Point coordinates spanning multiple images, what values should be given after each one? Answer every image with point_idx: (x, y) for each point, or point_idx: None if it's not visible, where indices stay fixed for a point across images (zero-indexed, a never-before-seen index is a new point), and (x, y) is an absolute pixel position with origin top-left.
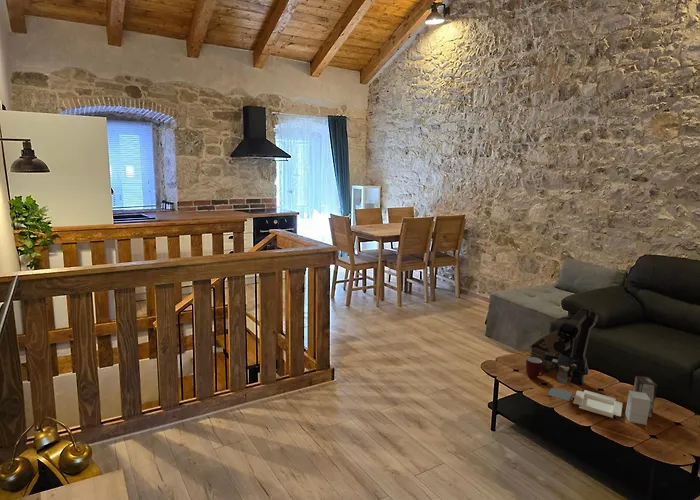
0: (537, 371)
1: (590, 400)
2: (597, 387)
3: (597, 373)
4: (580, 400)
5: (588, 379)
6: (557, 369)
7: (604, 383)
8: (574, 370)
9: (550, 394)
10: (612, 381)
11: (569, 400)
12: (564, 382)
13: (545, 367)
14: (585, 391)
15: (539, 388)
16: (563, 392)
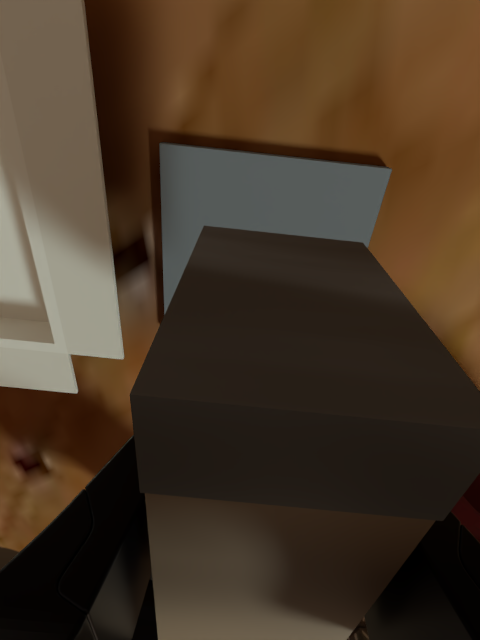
0: (478, 485)
1: (5, 277)
2: (53, 477)
3: None
4: (24, 135)
5: None
6: (434, 523)
7: (41, 521)
8: None
9: (361, 193)
10: (19, 545)
11: (161, 155)
12: (223, 239)
13: None
14: (60, 372)
15: (445, 294)
16: None
